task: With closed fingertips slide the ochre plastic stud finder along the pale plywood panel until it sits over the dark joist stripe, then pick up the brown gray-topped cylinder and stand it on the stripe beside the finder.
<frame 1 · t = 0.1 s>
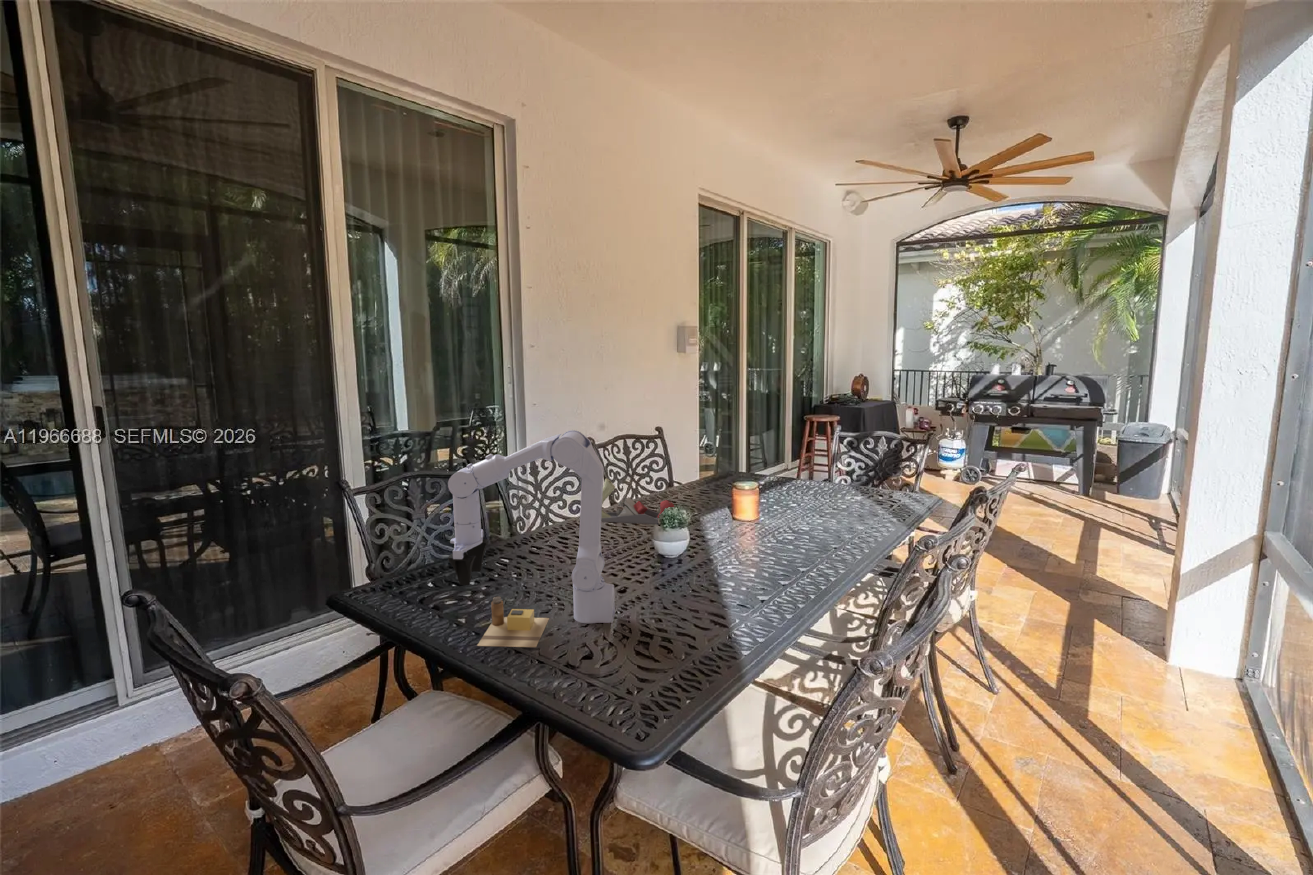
hand: (470, 577, 141), 10 cm above the table, fingers open, 7 cm apart
stud finder: (521, 625, 137), point 1 cm above the table, touching plywood panel
hand plane: (630, 521, 216), on the table
brown gray-topped cylinder: (498, 623, 138), point 1 cm above the table, touching plywood panel
plywood panel: (515, 636, 134), on the table
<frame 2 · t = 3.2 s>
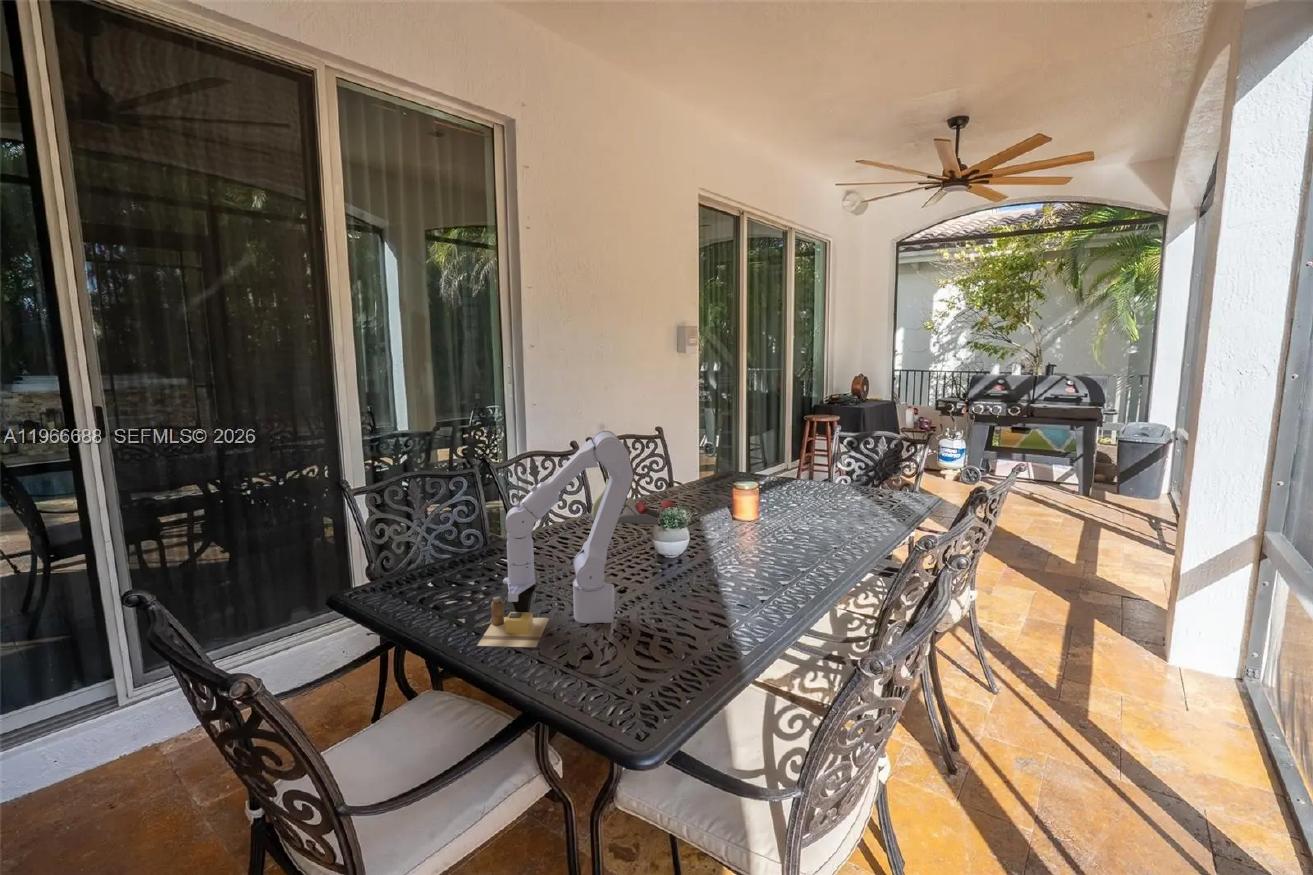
hand: (522, 618, 138), 2 cm above the table, fingers closed
stud finder: (519, 629, 135), point 1 cm above the table, touching gripper
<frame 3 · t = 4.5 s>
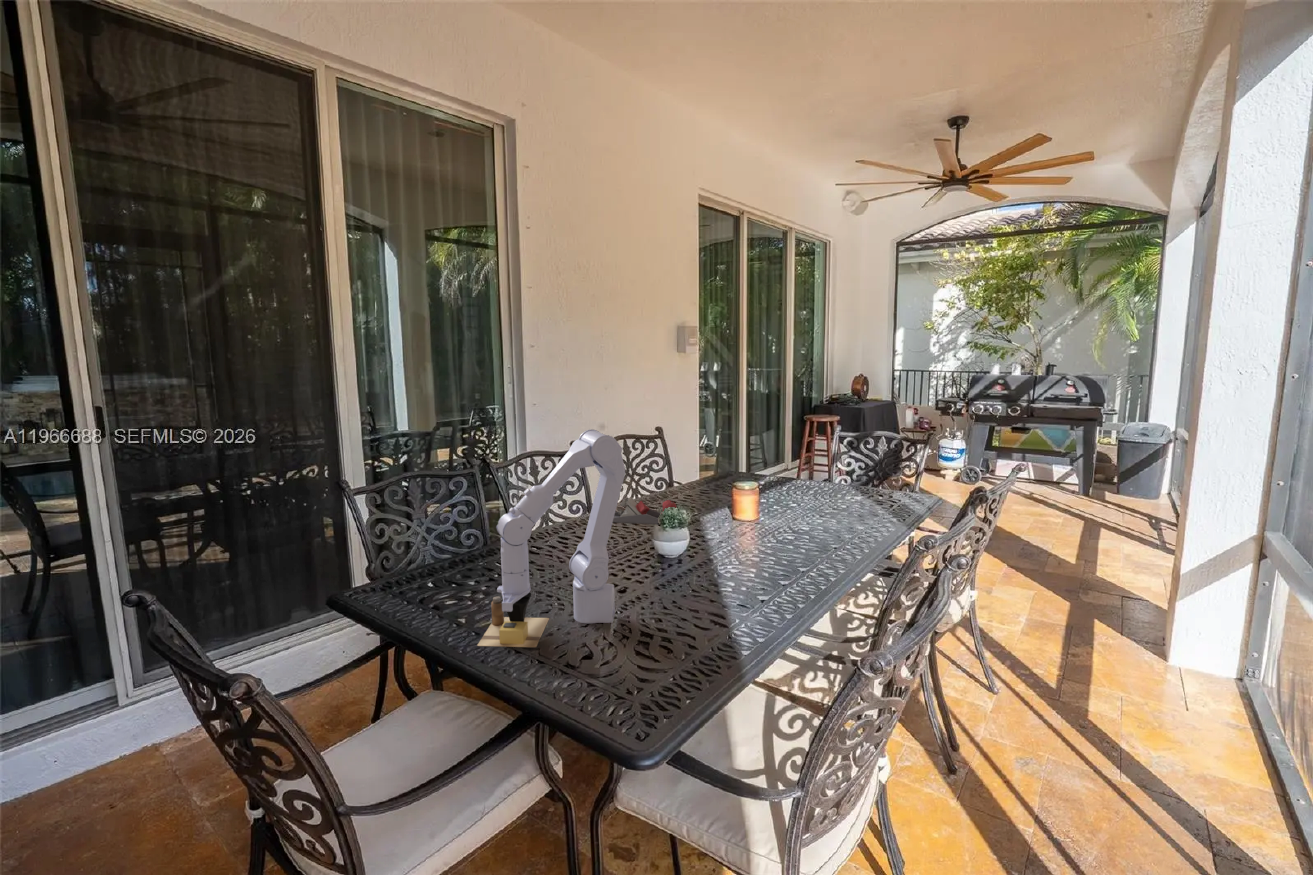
hand: (517, 627, 134), 2 cm above the table, fingers closed
stud finder: (514, 639, 131), point 1 cm above the table, touching gripper, plywood panel
everything else where it was.
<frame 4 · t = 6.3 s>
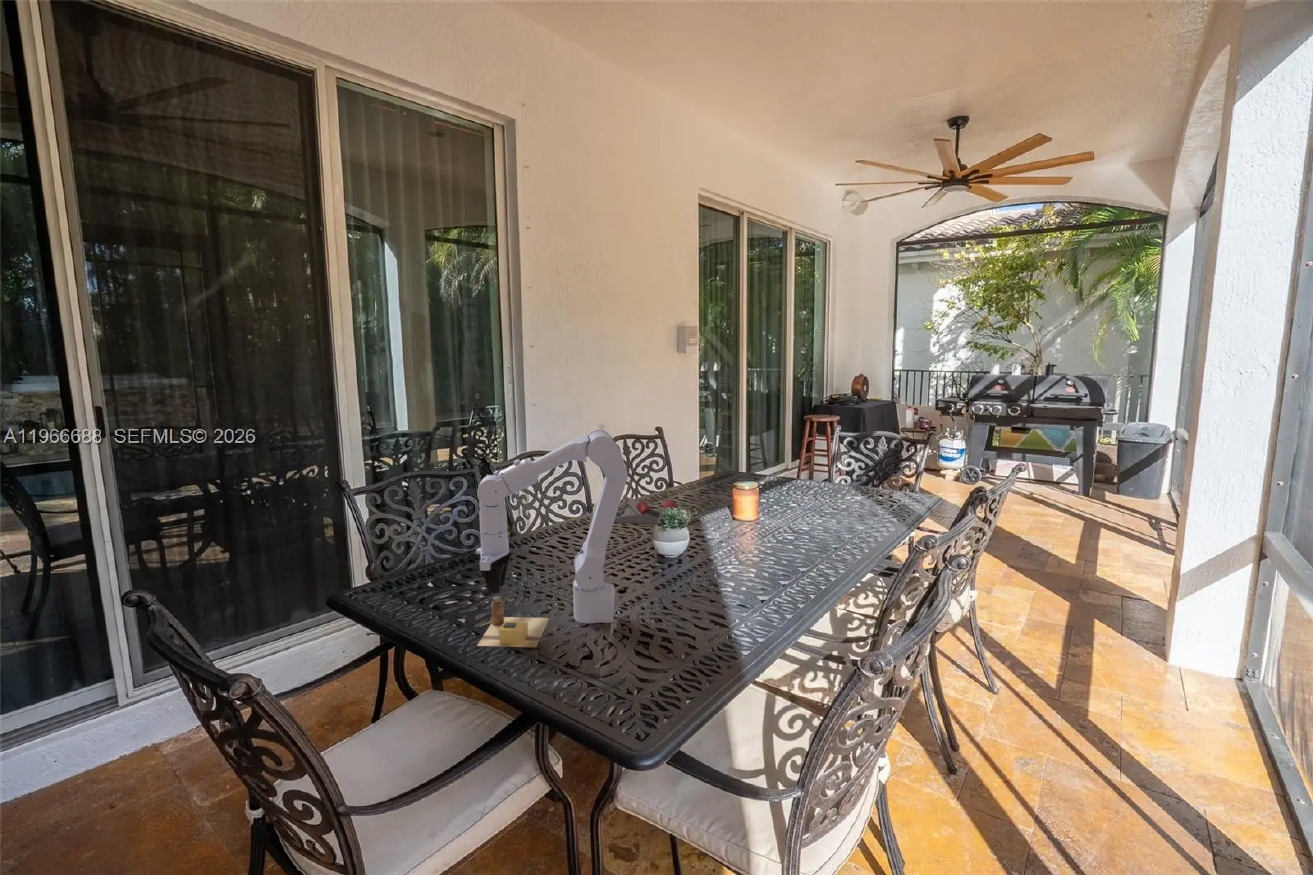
hand: (496, 588, 136), 9 cm above the table, fingers open, 3 cm apart
stud finder: (514, 639, 131), point 1 cm above the table, touching plywood panel
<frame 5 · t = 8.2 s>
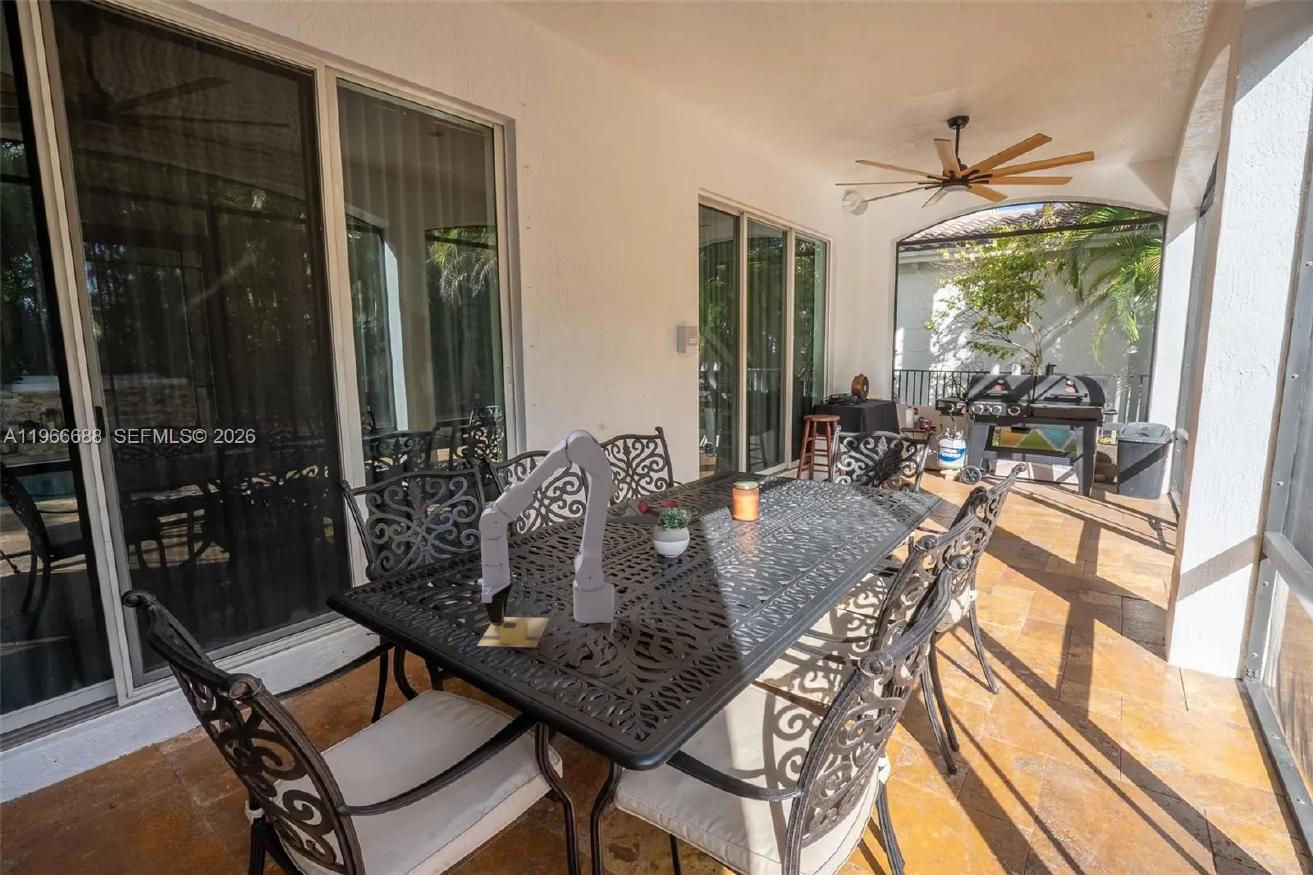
hand: (497, 619, 138), 2 cm above the table, fingers closed on brown gray-topped cylinder, 3 cm apart
brown gray-topped cylinder: (498, 623, 138), point 1 cm above the table, touching gripper, plywood panel
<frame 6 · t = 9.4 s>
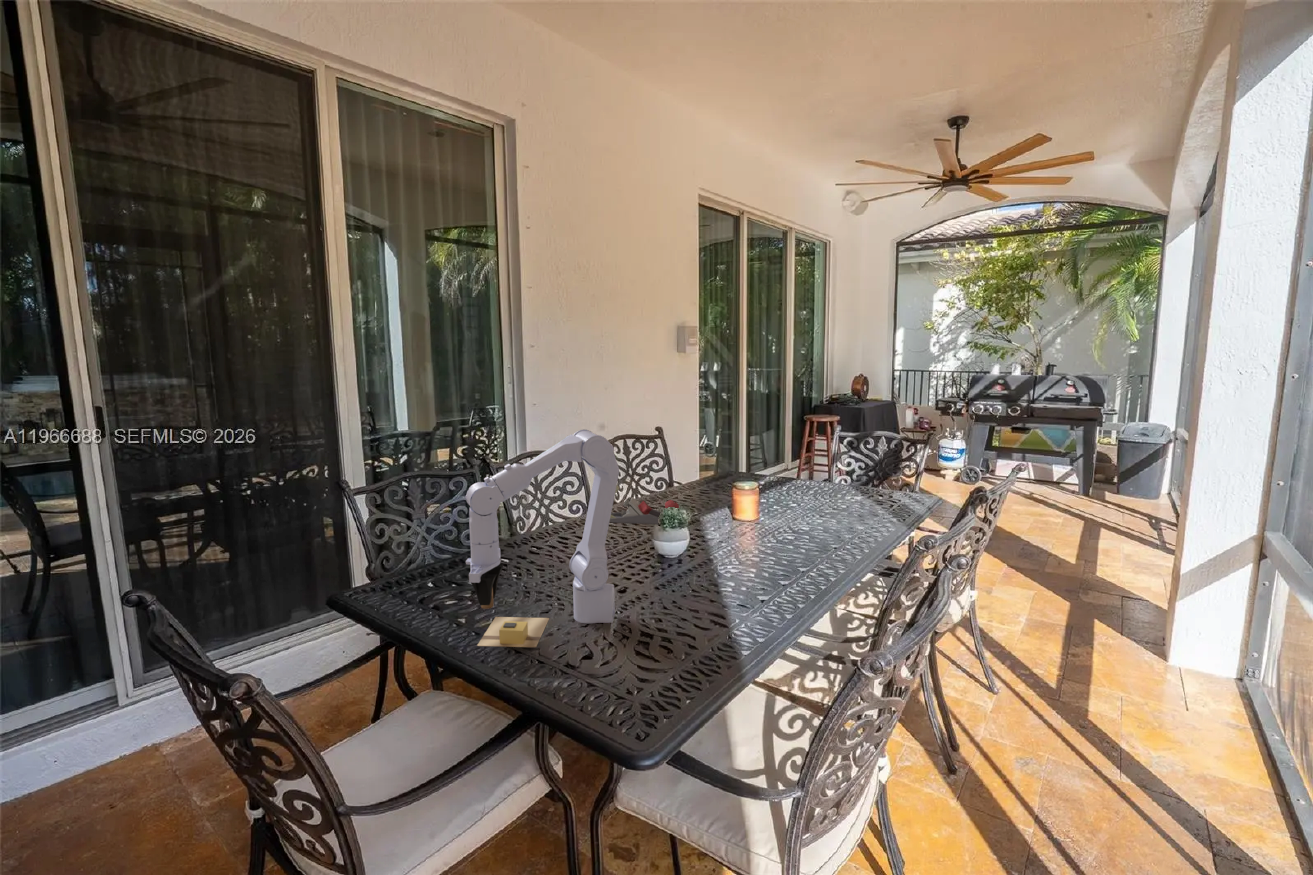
hand: (487, 601, 130), 9 cm above the table, fingers closed on brown gray-topped cylinder, 3 cm apart
brown gray-topped cylinder: (487, 606, 130), point 8 cm above the table, touching gripper
when the fingers open (3 cm above the table, at t = 10.9 s): brown gray-topped cylinder stays where it is, resting on plywood panel.
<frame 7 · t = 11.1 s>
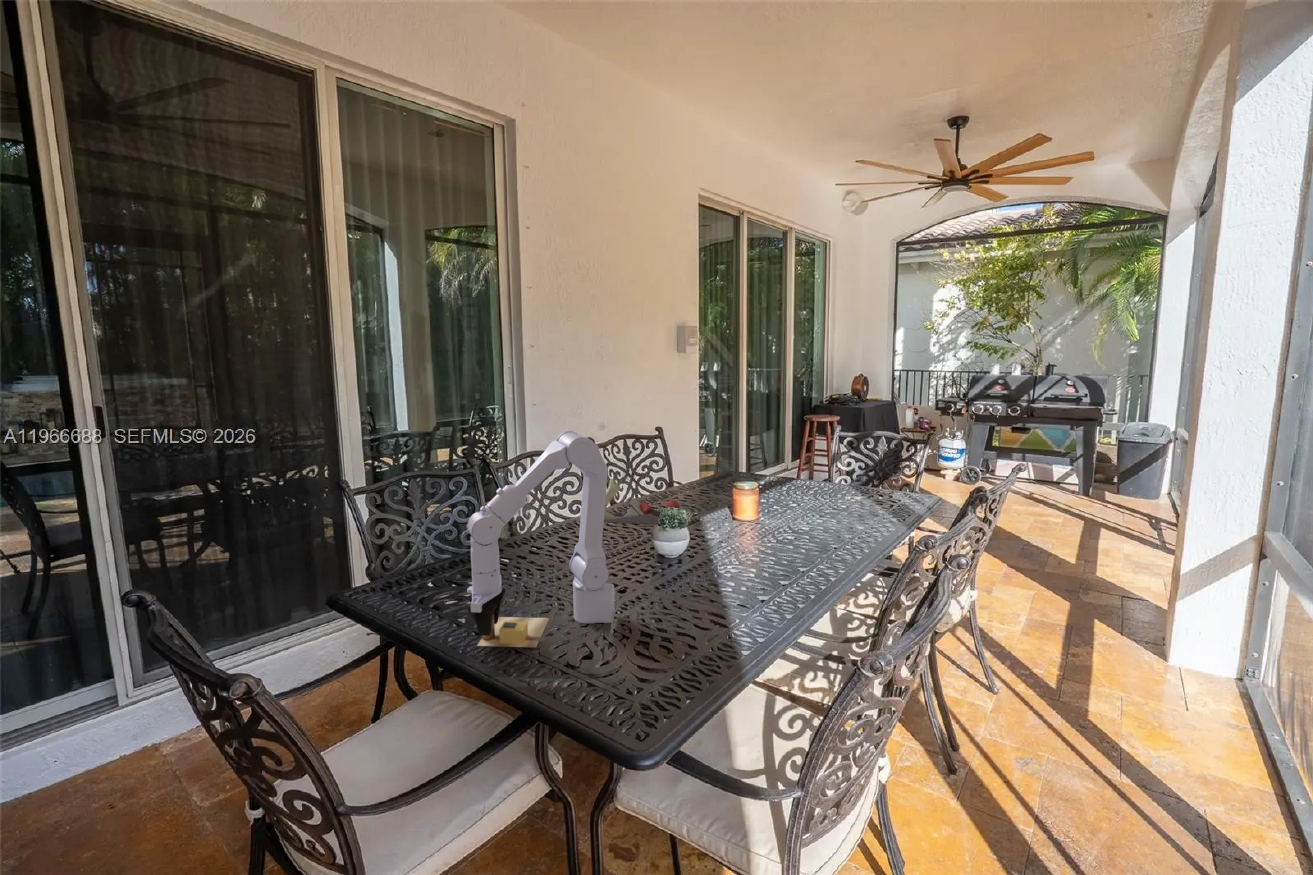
hand: (488, 628, 131), 3 cm above the table, fingers open, 4 cm apart
brown gray-topped cylinder: (488, 637, 131), point 1 cm above the table, touching plywood panel
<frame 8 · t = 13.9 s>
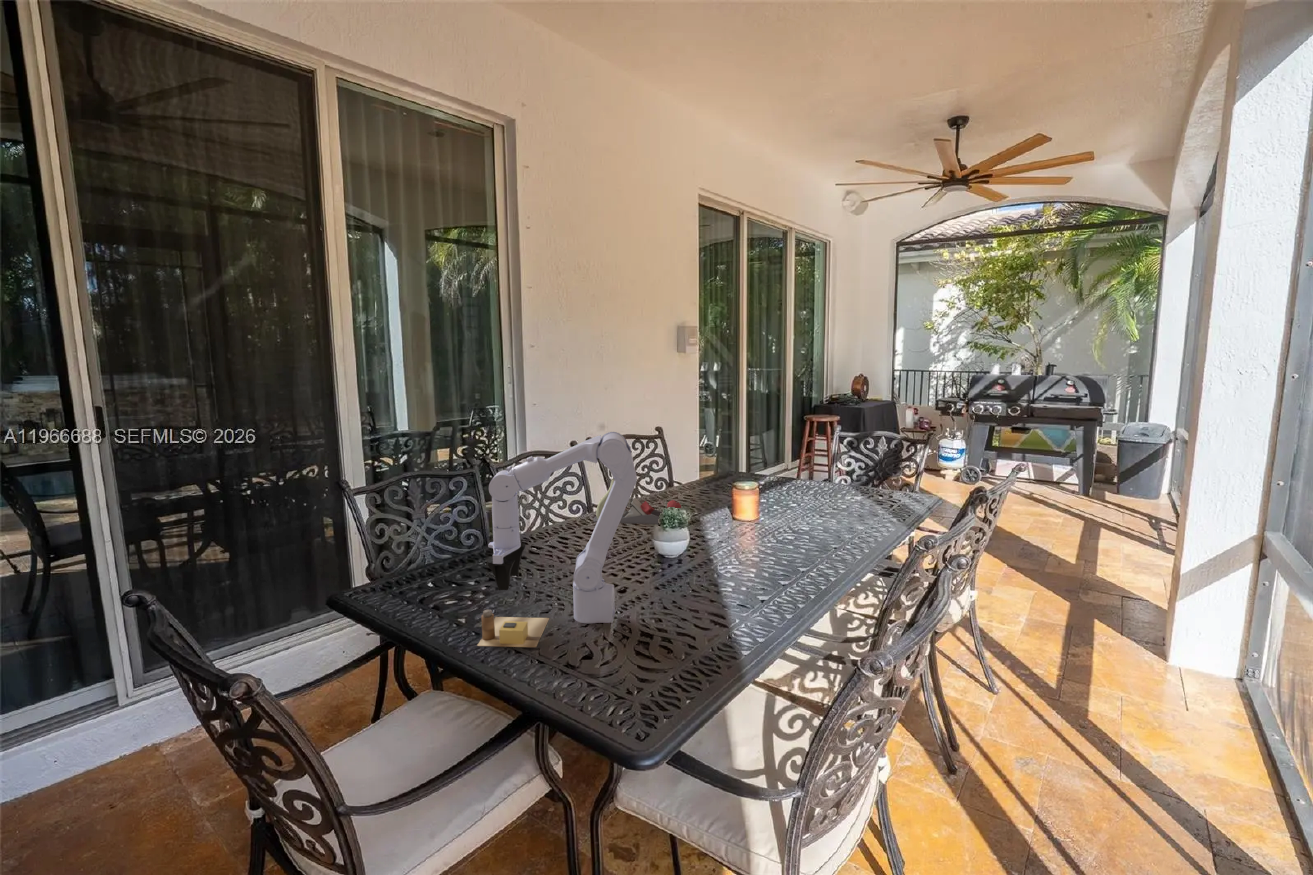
hand: (508, 582, 139), 10 cm above the table, fingers open, 7 cm apart
at the end: stud finder 0.2 cm from the target spot, point 1.2 cm above the table; brown gray-topped cylinder 0.4 cm from the target spot, point 1.2 cm above the table; brown gray-topped cylinder tilted 0° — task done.
